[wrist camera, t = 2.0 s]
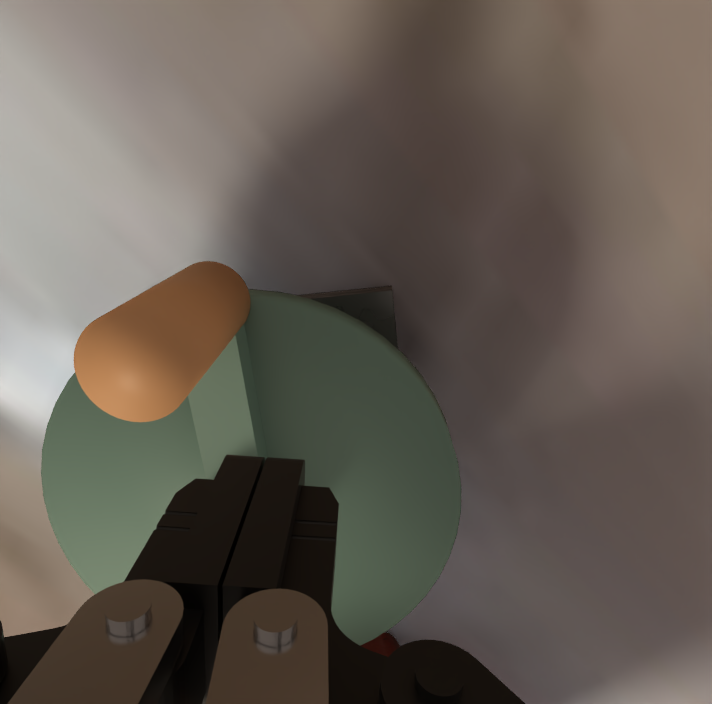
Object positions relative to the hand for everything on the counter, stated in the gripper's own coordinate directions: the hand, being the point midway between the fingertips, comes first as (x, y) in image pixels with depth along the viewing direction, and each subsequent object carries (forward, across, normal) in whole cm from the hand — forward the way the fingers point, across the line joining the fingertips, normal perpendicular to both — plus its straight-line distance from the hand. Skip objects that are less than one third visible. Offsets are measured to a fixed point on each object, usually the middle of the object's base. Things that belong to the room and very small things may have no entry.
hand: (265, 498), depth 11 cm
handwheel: (+13, +2, +8) cm, 16 cm away
